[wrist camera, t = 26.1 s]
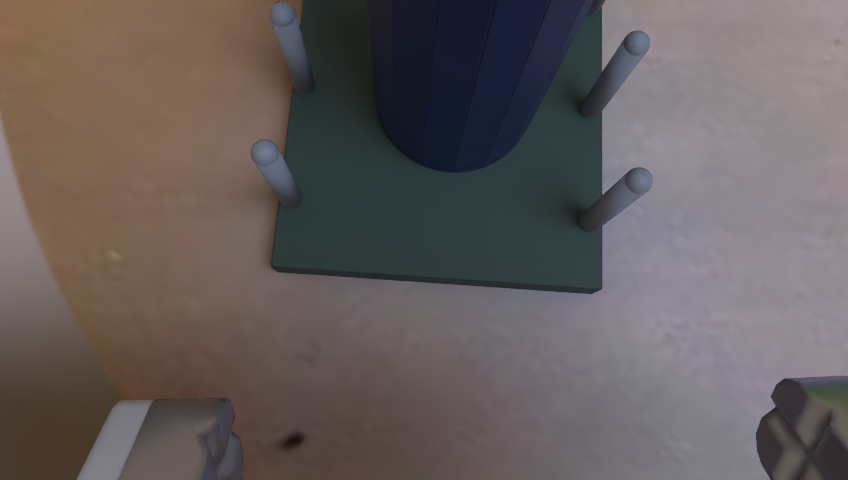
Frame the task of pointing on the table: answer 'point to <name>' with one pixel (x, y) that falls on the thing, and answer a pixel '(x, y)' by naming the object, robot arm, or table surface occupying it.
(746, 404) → the table surface
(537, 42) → the bottle
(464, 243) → the rack
